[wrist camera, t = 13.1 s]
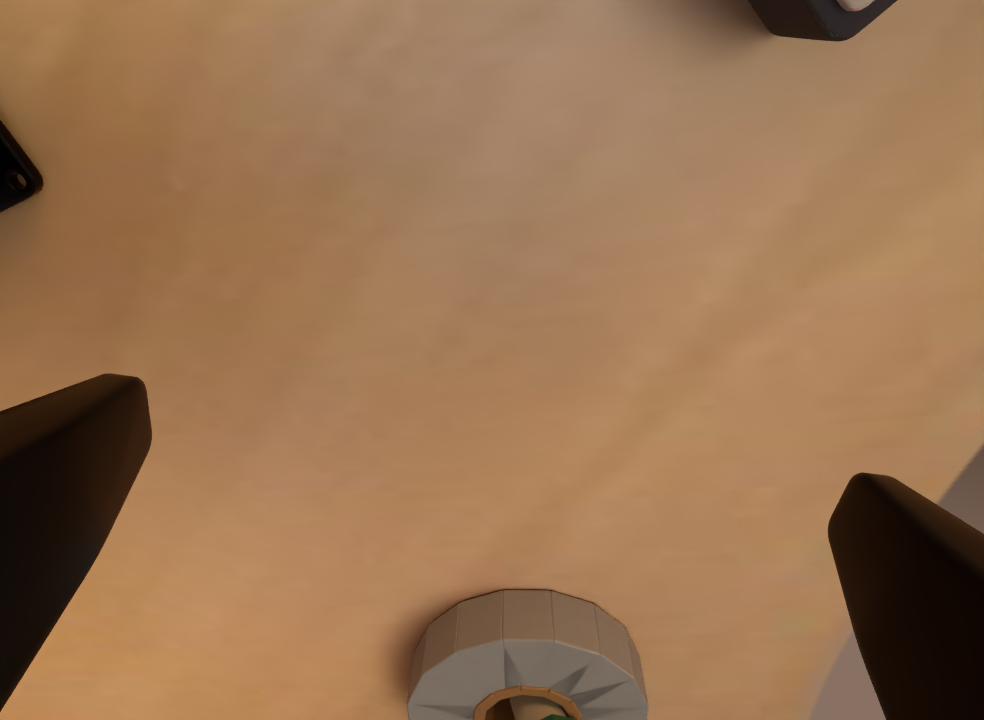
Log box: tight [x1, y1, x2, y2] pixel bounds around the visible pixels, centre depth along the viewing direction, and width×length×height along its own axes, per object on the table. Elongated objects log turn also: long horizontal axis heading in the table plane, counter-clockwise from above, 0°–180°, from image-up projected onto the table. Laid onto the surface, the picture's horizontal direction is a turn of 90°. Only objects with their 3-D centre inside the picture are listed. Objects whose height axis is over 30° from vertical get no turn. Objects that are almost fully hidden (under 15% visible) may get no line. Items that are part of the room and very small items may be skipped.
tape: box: [407, 590, 649, 720], centre depth 29 cm, size 10×10×3 cm
